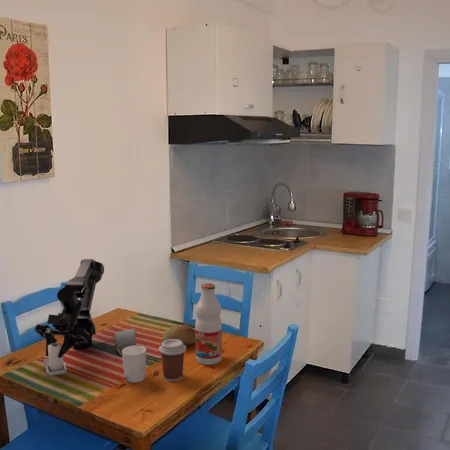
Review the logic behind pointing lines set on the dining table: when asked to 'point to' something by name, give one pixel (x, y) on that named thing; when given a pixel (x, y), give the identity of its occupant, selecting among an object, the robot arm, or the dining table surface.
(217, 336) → the fruit juice
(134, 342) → the ceramic mug
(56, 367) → the cream cylinder
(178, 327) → the bread roll
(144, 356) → the white cup
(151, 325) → the dining table surface
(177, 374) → the coffee cup
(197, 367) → the dining table surface
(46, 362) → the power strip
